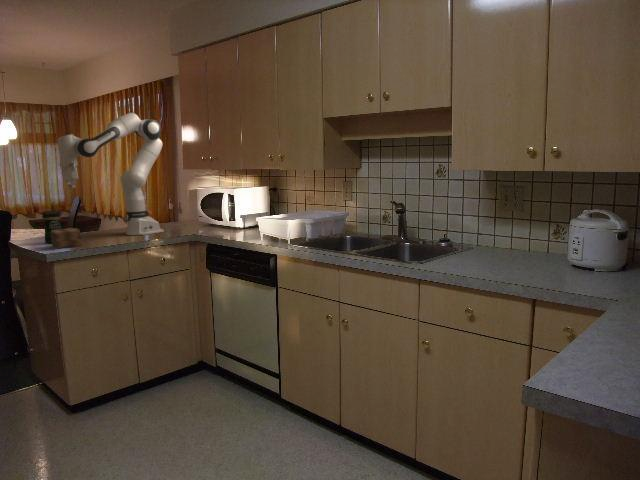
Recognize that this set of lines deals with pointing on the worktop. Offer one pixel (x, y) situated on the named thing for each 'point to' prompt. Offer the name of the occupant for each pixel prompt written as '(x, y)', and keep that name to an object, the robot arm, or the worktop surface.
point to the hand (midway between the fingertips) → (71, 187)
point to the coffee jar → (51, 223)
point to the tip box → (66, 238)
